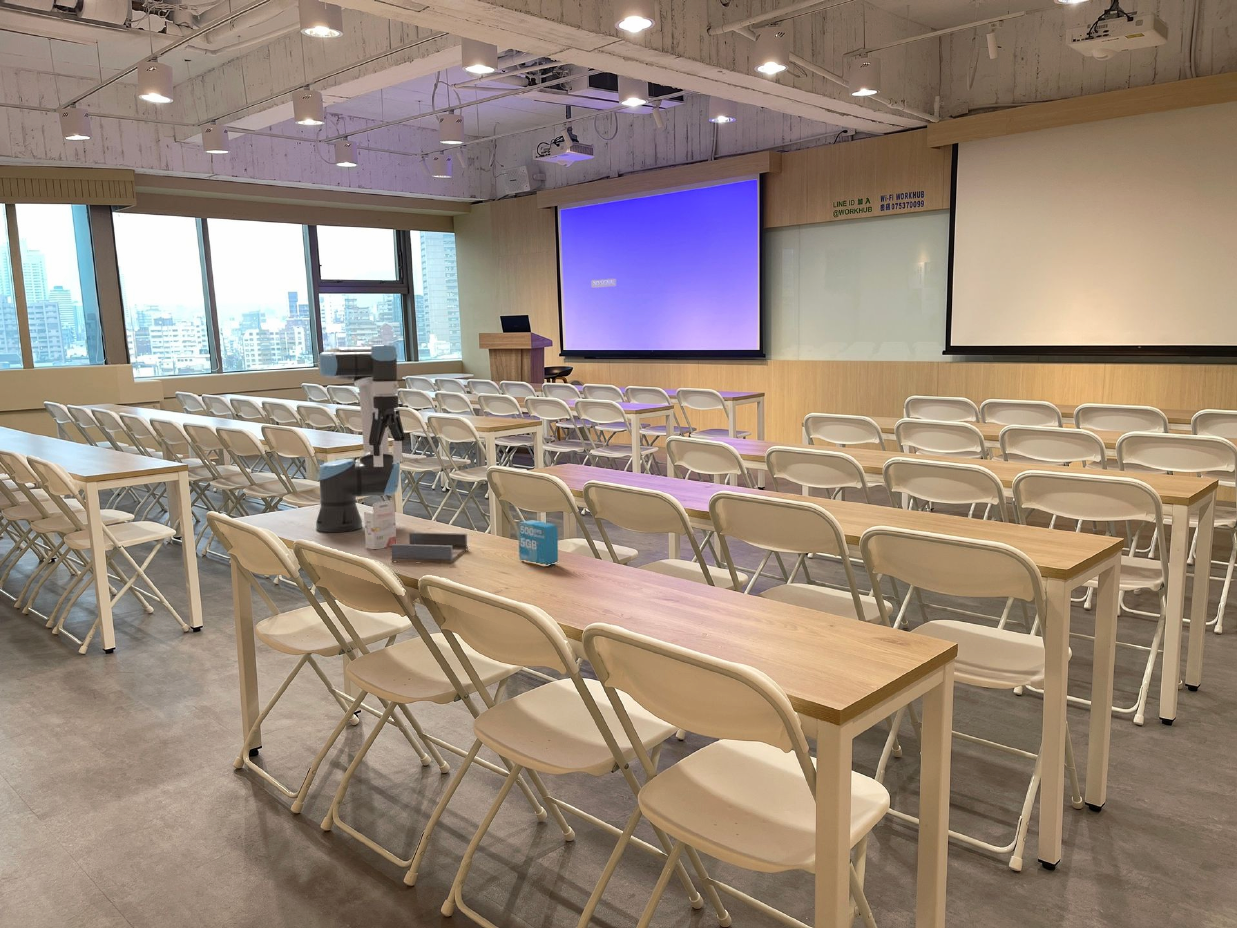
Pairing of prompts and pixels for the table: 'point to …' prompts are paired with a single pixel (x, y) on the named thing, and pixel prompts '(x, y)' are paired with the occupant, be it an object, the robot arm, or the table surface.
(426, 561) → the track board
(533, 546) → the data package
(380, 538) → the ink cartridge box
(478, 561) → the table surface
